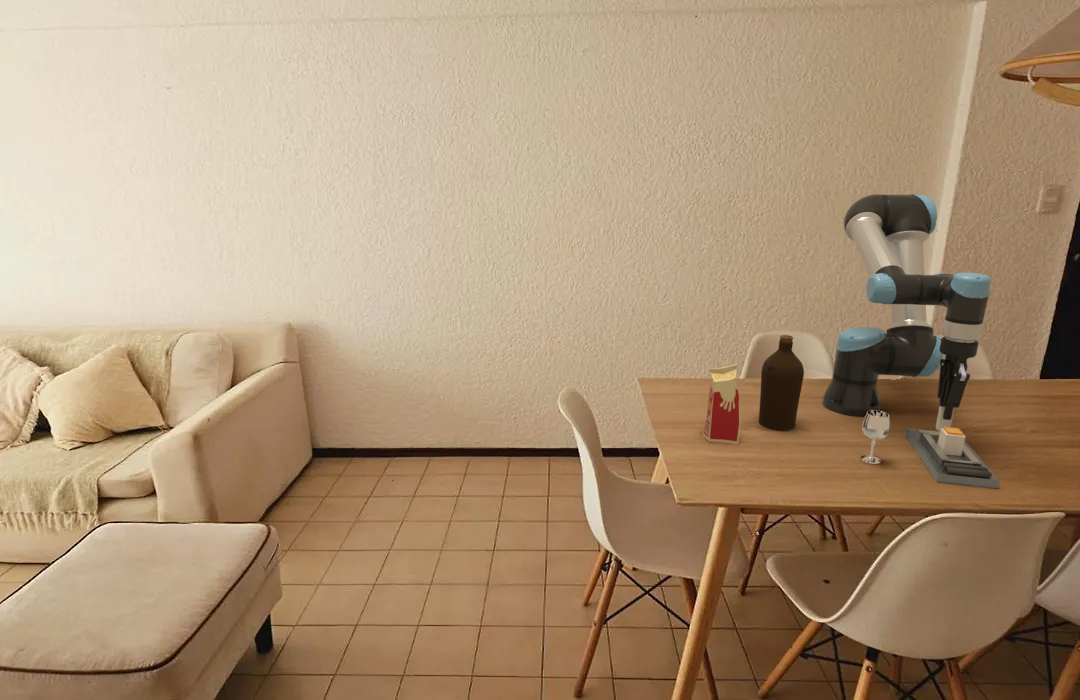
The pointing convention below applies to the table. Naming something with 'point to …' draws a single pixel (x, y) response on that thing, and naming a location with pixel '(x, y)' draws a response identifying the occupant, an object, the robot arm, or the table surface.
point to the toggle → (951, 441)
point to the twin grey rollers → (967, 470)
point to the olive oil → (780, 387)
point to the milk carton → (723, 407)
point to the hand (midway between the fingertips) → (942, 429)
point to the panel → (947, 459)
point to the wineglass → (875, 431)
